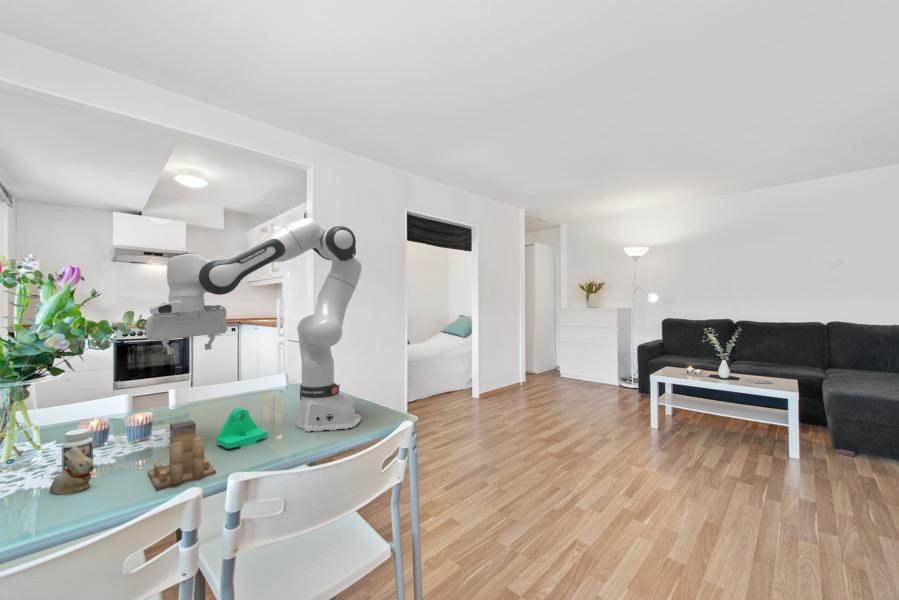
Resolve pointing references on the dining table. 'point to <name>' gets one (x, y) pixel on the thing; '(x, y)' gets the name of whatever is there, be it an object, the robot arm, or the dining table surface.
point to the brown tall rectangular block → (184, 440)
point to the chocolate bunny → (73, 473)
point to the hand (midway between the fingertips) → (190, 351)
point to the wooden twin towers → (181, 466)
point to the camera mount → (239, 430)
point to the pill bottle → (77, 444)
